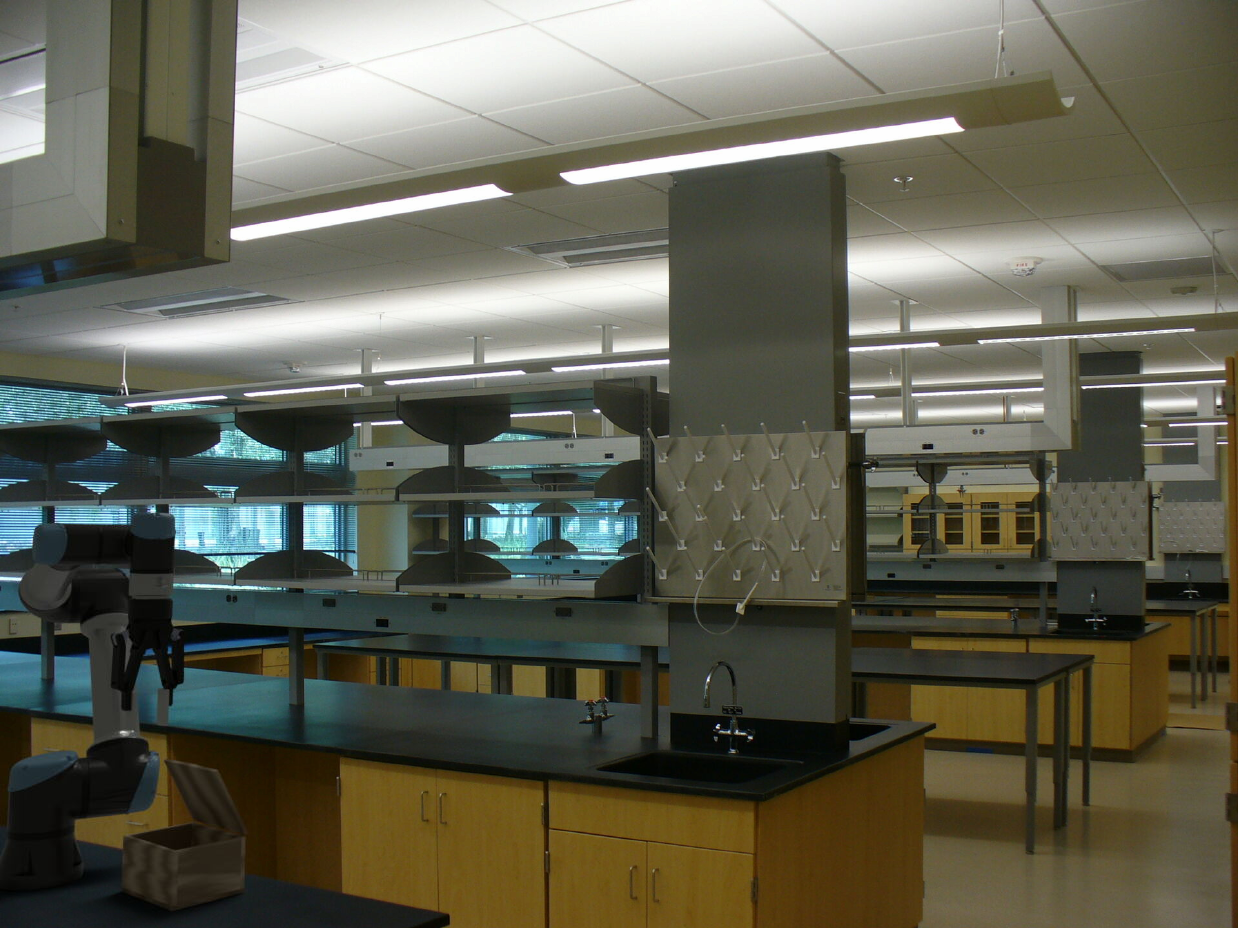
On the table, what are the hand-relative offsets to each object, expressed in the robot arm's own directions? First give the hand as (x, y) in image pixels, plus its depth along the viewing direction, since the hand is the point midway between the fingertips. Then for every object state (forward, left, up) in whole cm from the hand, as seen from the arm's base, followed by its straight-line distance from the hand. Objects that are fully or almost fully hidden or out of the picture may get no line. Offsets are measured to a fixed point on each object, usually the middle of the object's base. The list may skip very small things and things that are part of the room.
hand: (146, 726), depth 203 cm
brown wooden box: (0, +8, -31) cm, 32 cm away
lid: (0, +12, -14) cm, 18 cm away
